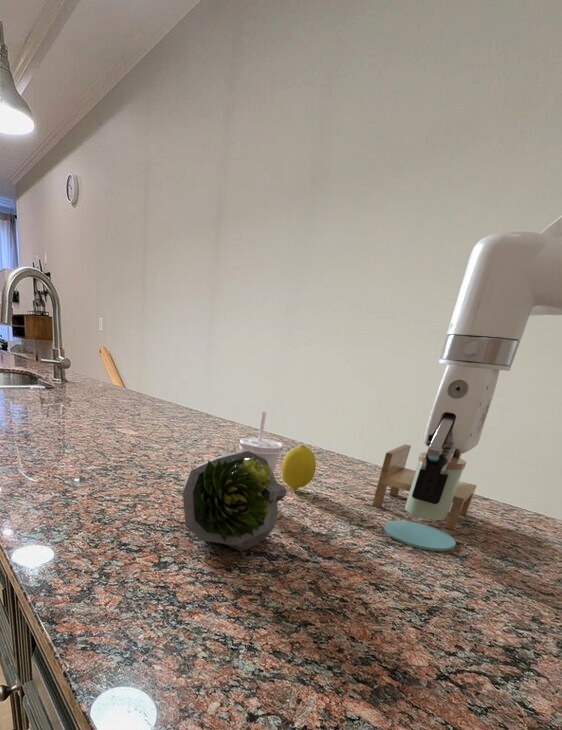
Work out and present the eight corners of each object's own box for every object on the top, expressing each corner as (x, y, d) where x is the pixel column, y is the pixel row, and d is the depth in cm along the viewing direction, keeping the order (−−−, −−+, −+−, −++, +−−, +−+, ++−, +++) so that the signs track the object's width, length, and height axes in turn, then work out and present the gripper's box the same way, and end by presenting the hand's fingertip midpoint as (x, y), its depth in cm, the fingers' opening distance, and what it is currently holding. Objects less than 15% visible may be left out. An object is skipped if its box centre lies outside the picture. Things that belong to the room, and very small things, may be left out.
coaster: (461, 538, 63) (462, 535, 63) (446, 557, 57) (447, 555, 57) (395, 518, 69) (396, 515, 68) (375, 534, 62) (376, 531, 62)
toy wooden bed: (466, 514, 73) (485, 461, 70) (453, 530, 66) (473, 472, 62) (391, 493, 80) (405, 444, 77) (371, 505, 73) (386, 452, 70)
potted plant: (291, 503, 61) (329, 517, 46) (215, 558, 62) (227, 589, 47) (240, 431, 60) (261, 421, 45) (163, 487, 60) (159, 496, 46)
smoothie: (259, 495, 73) (273, 409, 68) (280, 510, 68) (298, 417, 62) (224, 497, 71) (236, 408, 65) (243, 512, 65) (258, 417, 60)
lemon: (290, 482, 81) (299, 439, 78) (317, 492, 77) (326, 447, 74) (271, 487, 77) (279, 442, 74) (297, 497, 74) (307, 450, 70)
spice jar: (451, 514, 62) (470, 459, 59) (441, 524, 58) (461, 466, 55) (410, 502, 65) (426, 450, 62) (398, 511, 61) (415, 455, 58)
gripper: (503, 356, 45) (446, 520, 52) (521, 359, 57) (473, 491, 64) (424, 349, 50) (381, 501, 56) (456, 353, 62) (418, 477, 69)
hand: (431, 494), depth 60 cm, fingers closed on spice jar, 5 cm apart
